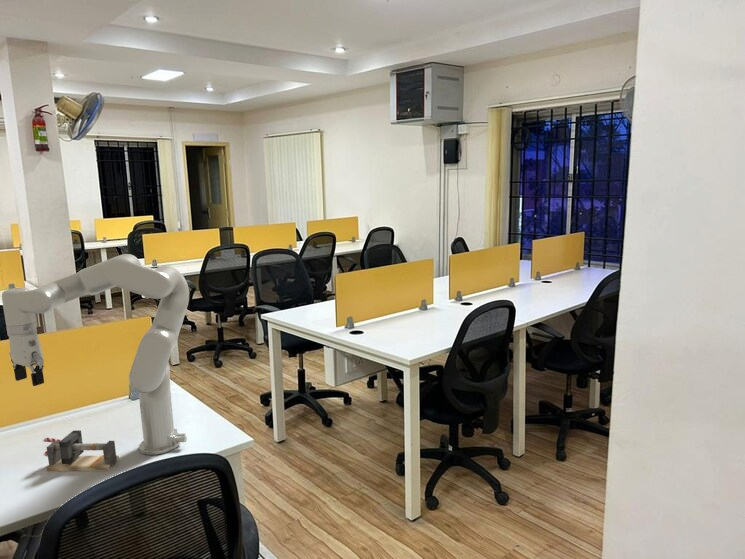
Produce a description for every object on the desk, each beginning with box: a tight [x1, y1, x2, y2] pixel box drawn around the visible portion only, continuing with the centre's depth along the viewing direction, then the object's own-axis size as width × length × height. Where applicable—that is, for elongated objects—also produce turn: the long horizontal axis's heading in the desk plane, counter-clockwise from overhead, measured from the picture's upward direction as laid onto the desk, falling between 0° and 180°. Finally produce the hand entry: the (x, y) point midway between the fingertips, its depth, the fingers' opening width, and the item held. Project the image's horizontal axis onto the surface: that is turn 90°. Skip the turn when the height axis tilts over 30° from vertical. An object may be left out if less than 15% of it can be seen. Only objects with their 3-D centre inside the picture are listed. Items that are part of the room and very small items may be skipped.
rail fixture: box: [45, 440, 120, 472], centre depth 168 cm, size 19×7×7 cm, turn 88°
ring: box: [59, 430, 85, 464], centre depth 167 cm, size 2×8×7 cm, turn 178°
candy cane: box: [44, 437, 62, 457], centre depth 181 cm, size 8×1×15 cm
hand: (29, 381), depth 169 cm, fingers open, 9 cm apart
